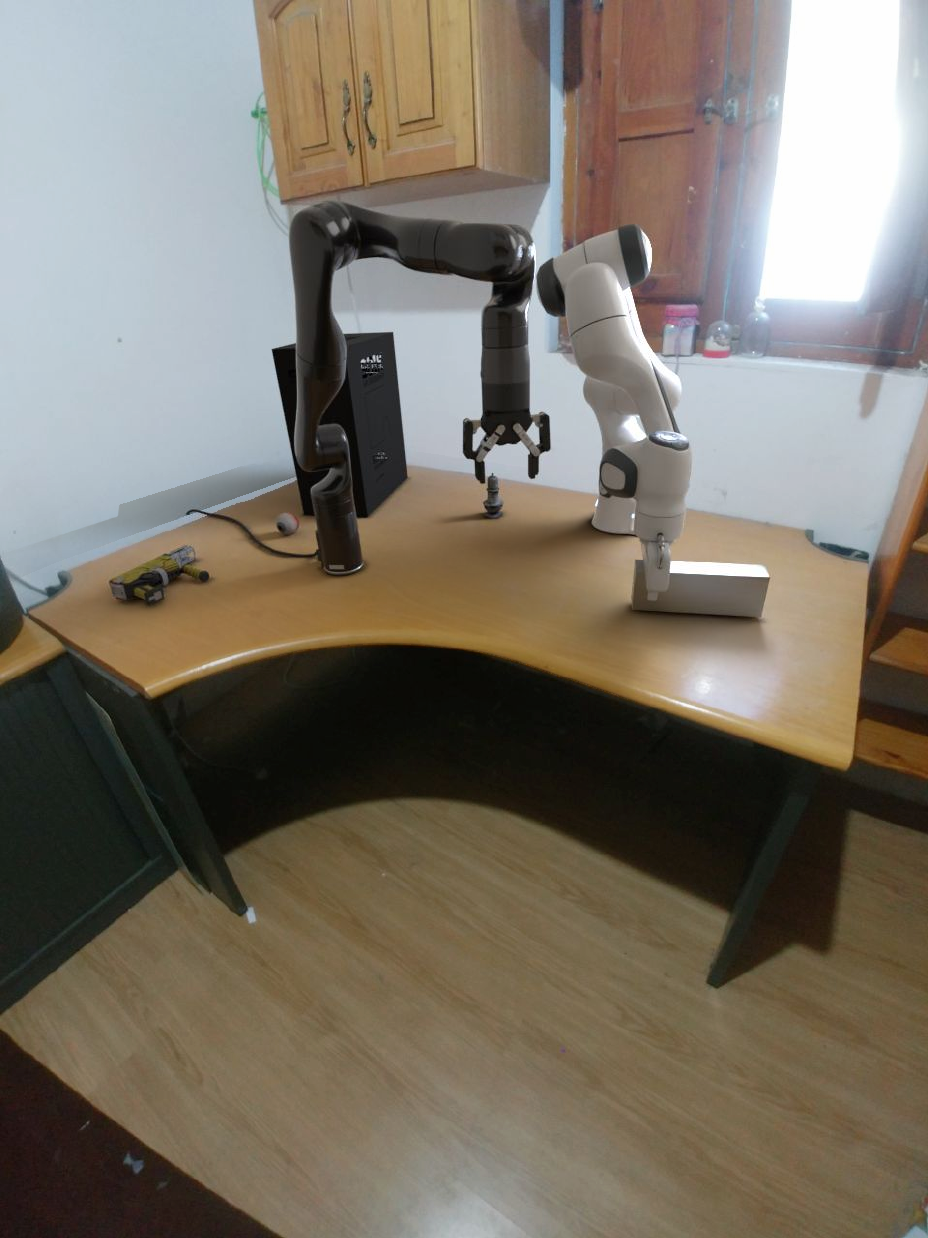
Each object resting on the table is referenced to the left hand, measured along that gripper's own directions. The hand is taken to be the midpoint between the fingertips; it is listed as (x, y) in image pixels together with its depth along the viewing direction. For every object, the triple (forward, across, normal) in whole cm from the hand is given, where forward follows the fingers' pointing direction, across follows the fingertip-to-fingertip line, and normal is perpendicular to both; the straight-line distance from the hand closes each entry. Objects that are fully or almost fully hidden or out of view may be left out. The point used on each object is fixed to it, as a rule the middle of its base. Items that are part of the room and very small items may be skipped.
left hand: (507, 480), depth 101 cm
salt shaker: (+29, +10, +62) cm, 69 cm away
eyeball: (+29, -47, +64) cm, 84 cm away
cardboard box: (+29, -27, +92) cm, 100 cm away
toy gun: (+29, -71, +40) cm, 86 cm away
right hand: (+25, +29, +1) cm, 38 cm away
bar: (+28, +36, -2) cm, 46 cm away
